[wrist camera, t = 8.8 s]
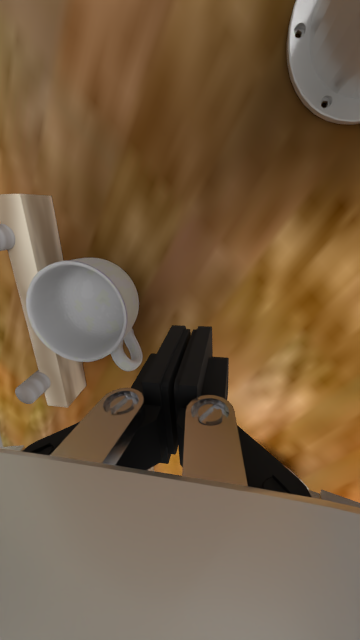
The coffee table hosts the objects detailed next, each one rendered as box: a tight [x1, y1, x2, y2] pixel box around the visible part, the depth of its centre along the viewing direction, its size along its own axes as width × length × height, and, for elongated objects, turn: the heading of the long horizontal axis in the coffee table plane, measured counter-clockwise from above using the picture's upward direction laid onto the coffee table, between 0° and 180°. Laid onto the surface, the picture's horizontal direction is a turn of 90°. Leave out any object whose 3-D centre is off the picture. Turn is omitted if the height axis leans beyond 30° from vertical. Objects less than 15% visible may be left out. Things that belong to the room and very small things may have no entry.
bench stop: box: [0, 194, 86, 408], centre depth 32 cm, size 4×26×8 cm, turn 2°
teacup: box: [26, 258, 143, 371], centre depth 31 cm, size 14×11×8 cm
